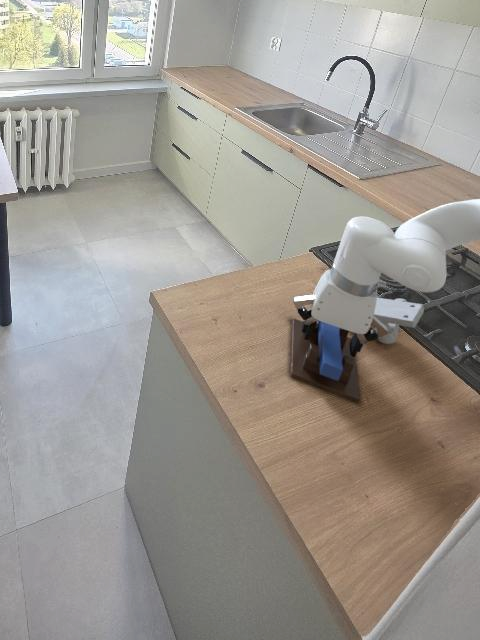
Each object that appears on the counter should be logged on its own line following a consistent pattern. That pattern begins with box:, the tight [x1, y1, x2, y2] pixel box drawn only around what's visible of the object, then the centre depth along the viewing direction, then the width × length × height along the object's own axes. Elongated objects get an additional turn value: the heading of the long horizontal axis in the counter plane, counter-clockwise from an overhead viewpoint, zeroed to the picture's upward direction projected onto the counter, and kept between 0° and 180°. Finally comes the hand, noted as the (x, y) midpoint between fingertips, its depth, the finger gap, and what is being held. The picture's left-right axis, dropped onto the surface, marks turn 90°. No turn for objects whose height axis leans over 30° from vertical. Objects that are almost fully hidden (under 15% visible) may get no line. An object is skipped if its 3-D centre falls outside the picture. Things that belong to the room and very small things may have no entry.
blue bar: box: [317, 320, 343, 381], centre depth 86 cm, size 3×16×3 cm, turn 155°
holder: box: [290, 318, 361, 403], centre depth 87 cm, size 12×15×7 cm
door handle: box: [374, 297, 425, 345], centre depth 97 cm, size 18×8×20 cm
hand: (328, 342), depth 86 cm, fingers open, 8 cm apart
